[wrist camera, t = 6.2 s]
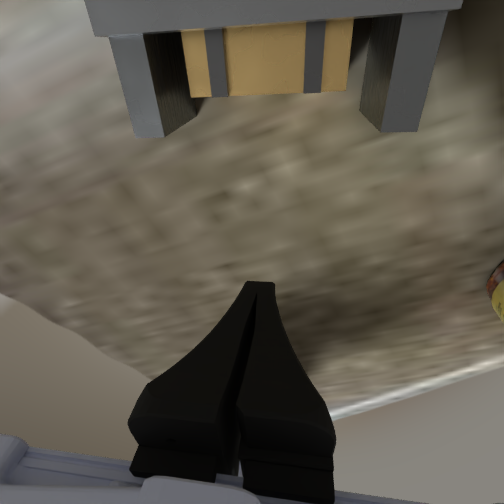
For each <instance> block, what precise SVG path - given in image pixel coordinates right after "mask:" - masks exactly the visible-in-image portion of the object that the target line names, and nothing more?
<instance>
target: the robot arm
mask: <svg viewBox="0 0 504 504" xmlns="http://www.w3.org/2000/svg"><path fill="white" fill-rule="evenodd" d="M128 426H129V429H130V431H131V433H132V435H133V436H134V438H135V440H136V441H137V443H138V444H139V446H138V449H137V451H136V453H135V456H134V458H133V461H127V460H120V459H113V458H106V457H99V456H92V455H85V454H78V453H71V452H64V451H57V450H50V449H43V448H36V447H29V446H28V444H27V443H26V442H25V441H24V440H23V439H21V438H19V437H17V436H13V435H6V434H0V504H426V503H420V502H413V501H406V500H399V499H392V498H385V497H378V496H371V495H364V494H357V493H350V492H343V491H336V490H334V480H333V471H334V466H333V453H334V449H335V445H336V435H335V430H334V426H333V423H332V420H331V417H330V414H329V412H328V409H327V406H326V404H325V401H324V400H323V398H322V397H321V396H320V394H319V393H318V391H317V390H316V388H315V387H314V385H313V384H312V382H311V381H310V379H309V378H308V376H307V374H306V373H305V371H304V369H303V367H302V365H301V364H300V362H299V360H298V358H297V356H296V354H295V352H294V350H293V348H292V346H291V344H290V342H289V339H288V337H287V335H286V332H285V329H284V327H283V324H282V321H281V318H280V314H279V311H278V307H277V303H276V297H275V284H274V283H273V282H259V281H247V282H245V284H244V286H243V288H242V290H241V291H240V293H239V295H238V296H237V298H236V299H235V301H234V302H233V304H232V305H231V307H230V308H229V310H228V311H227V312H226V314H225V315H224V316H223V317H222V319H221V320H220V321H219V322H218V324H217V325H216V326H215V327H214V328H213V330H212V331H211V332H210V333H209V334H208V335H207V336H206V337H205V338H204V339H203V340H202V341H201V342H200V343H199V344H198V345H197V346H196V347H195V348H194V349H193V350H192V351H191V352H189V353H188V354H187V355H186V356H185V357H183V358H182V359H181V360H180V361H179V362H177V363H176V364H175V365H174V366H172V367H171V368H170V369H168V370H167V371H166V372H164V373H163V374H161V375H160V376H158V377H157V378H155V379H154V380H153V381H151V382H150V383H148V384H147V385H146V387H145V388H144V390H143V391H142V393H141V395H140V396H139V398H138V400H137V402H136V405H135V407H134V409H133V411H132V413H131V415H130V418H129V419H128ZM495 504H504V503H495Z"/></svg>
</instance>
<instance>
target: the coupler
mask: <svg viewBox="0 0 504 504" xmlns="http://www.w3.org/2000/svg"><path fill="white" fill-rule="evenodd" d="M84 1H85V4H86V8H87V11H88V15H89V18H90V21H91V25H92V28H93V32H94V35H95V36H97V37H109V40H110V44H111V48H112V52H113V55H114V59H115V63H116V66H117V70H118V74H119V78H120V81H121V85H122V89H123V92H124V96H125V100H126V104H127V107H128V111H129V115H130V119H131V122H132V126H133V130H134V133H135V137H136V138H156V137H166V136H167V135H169V134H170V133H172V132H173V131H175V130H176V129H178V128H179V127H181V126H182V125H184V124H186V123H187V122H189V121H190V120H192V119H193V118H195V117H196V116H197V113H196V106H195V100H194V97H192V98H191V95H190V88H189V82H188V75H187V68H186V62H185V55H184V49H183V42H182V36H181V32H184V31H198V30H211V29H224V28H238V27H251V26H264V25H277V24H291V23H304V22H317V21H331V20H344V19H357V18H371V17H373V20H372V27H371V33H370V40H369V47H368V54H367V61H366V68H365V75H364V82H363V88H362V95H361V102H360V109H359V111H360V112H361V113H362V114H363V115H364V116H365V117H366V118H367V119H368V120H369V121H370V122H371V123H372V124H373V125H374V126H375V127H376V128H377V129H378V130H379V131H380V132H417V130H418V126H419V122H420V118H421V114H422V110H423V106H424V102H425V99H426V95H427V91H428V87H429V83H430V79H431V75H432V72H433V68H434V64H435V60H436V56H437V52H438V48H439V44H440V41H441V37H442V33H443V29H444V25H445V21H446V17H447V13H448V12H449V11H453V10H457V9H461V6H462V2H463V0H84Z"/></svg>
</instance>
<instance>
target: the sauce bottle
mask: <svg viewBox="0 0 504 504" xmlns="http://www.w3.org/2000/svg"><path fill="white" fill-rule="evenodd" d="M486 288H487V294H488V295H489V298H490V299H491V301H492V307H493V309H494V310H495V311H496V313H497V314H498V316H499V317H500V319H501V320H502V322H503V323H504V262H502V263H501V264H500V265H499V266H497V268H496V270H495V272H494V273H493V274H492V275H491V277H490V278H489V279H488V282H487V286H486Z"/></svg>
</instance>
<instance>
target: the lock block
mask: <svg viewBox="0 0 504 504" xmlns="http://www.w3.org/2000/svg"><path fill="white" fill-rule="evenodd" d="M353 23H354V19H344V20H331V21H317V22H304V23H291V24H277V25H264V26H251V27H238V28H224V29H211V30H198V31H184V32H181V36H182V42H183V49H184V55H185V62H186V68H187V75H188V82H189V88H190V95H191V98H192V97H228V96H238V95H260V94H283V93H321V92H328V91H346V84H347V75H348V67H349V58H350V49H351V40H352V32H353Z"/></svg>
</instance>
